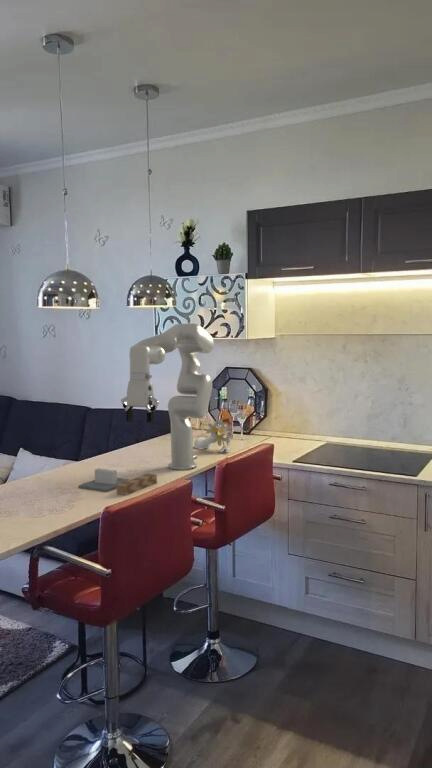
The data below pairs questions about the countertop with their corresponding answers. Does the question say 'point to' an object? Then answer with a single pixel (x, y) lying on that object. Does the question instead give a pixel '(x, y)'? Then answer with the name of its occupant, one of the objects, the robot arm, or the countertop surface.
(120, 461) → the countertop surface
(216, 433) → the flower vase
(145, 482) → the walnut bar
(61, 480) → the countertop surface
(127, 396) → the robot arm
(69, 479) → the countertop surface
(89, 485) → the slate board
